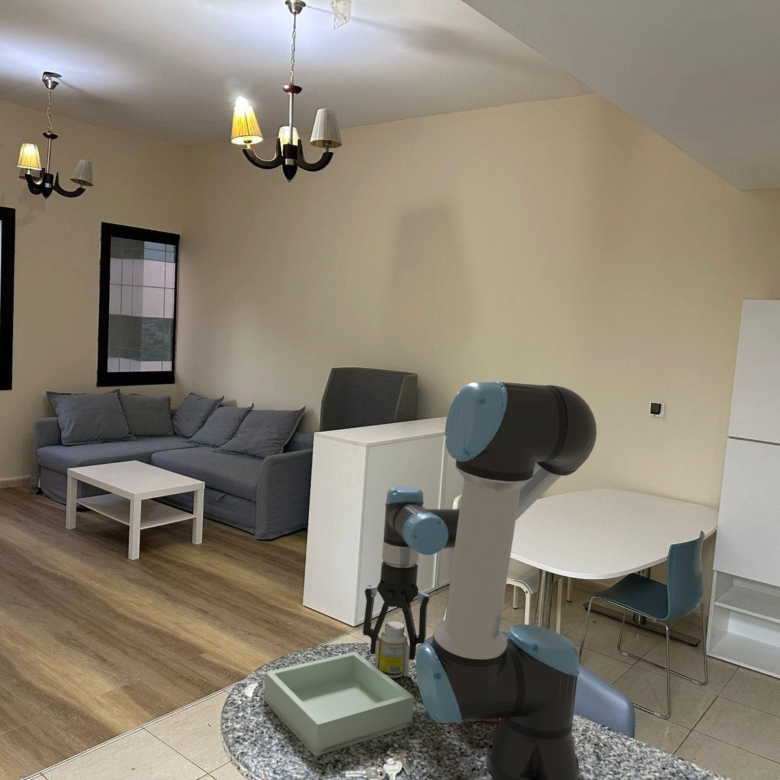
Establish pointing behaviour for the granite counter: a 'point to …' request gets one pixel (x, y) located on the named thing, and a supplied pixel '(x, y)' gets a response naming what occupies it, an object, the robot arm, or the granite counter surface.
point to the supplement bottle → (392, 650)
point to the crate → (337, 702)
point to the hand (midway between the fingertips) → (391, 670)
